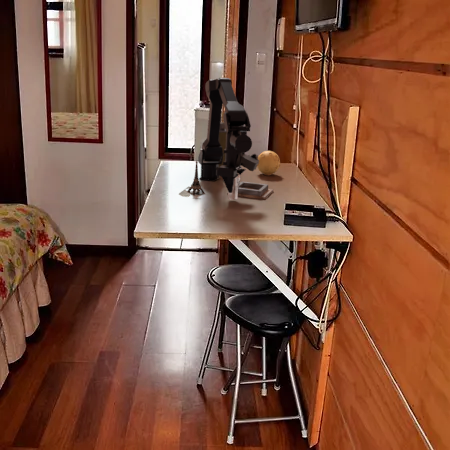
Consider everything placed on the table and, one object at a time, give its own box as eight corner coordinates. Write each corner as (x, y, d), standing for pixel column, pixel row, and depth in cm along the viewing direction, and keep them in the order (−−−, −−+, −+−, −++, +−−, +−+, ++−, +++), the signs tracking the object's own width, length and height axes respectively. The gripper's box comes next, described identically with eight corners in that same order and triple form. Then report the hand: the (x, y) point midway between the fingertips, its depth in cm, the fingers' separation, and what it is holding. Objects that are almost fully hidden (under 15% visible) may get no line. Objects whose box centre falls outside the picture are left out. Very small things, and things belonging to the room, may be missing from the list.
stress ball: (261, 173, 241) (247, 160, 235) (276, 156, 240) (263, 142, 234) (272, 182, 233) (259, 169, 227) (288, 164, 233) (275, 151, 226)
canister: (201, 169, 239) (202, 122, 233) (215, 165, 248) (216, 120, 241) (223, 173, 234) (225, 125, 227) (236, 169, 242) (238, 122, 236)
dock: (227, 194, 204) (227, 187, 203) (237, 187, 214) (237, 180, 214) (264, 199, 199) (265, 192, 199) (273, 191, 210) (273, 184, 209)
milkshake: (223, 196, 198) (224, 168, 194) (238, 196, 198) (240, 168, 195) (224, 200, 193) (225, 171, 190) (240, 200, 194) (241, 172, 191)
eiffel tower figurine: (188, 187, 213) (188, 152, 209) (214, 190, 211) (215, 155, 206) (174, 197, 199) (175, 160, 195) (202, 201, 197) (202, 163, 193)
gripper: (249, 154, 179) (246, 201, 184) (264, 144, 196) (261, 187, 201) (216, 150, 183) (214, 196, 188) (234, 141, 199) (232, 184, 204)
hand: (232, 191), depth 195 cm, fingers closed on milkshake, 4 cm apart
